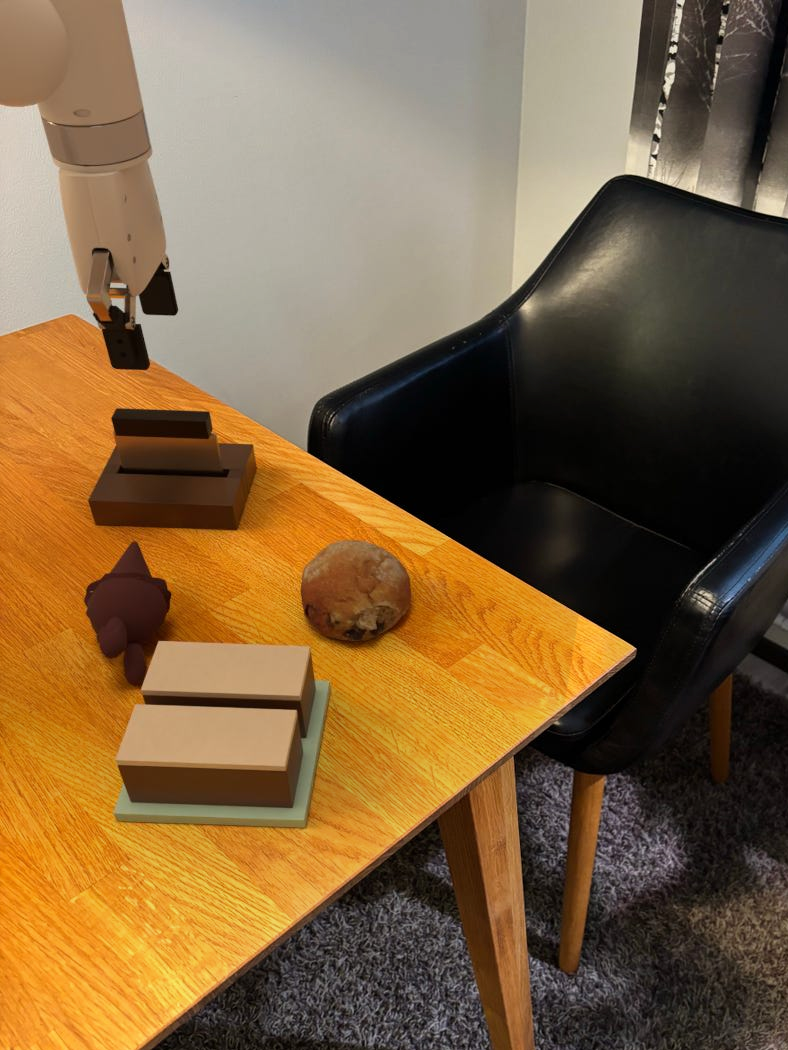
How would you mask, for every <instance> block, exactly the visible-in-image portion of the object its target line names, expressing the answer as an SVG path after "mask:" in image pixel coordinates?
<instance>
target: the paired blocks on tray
mask: <svg viewBox="0 0 788 1050" xmlns="http://www.w3.org/2000/svg"><path fill="white" fill-rule="evenodd" d="M154 649H155V650H154V652H153V654H152V657H151V660H150V663H149V665H148V669H147V670H146V673H145V676H144V679H143V683H142V685H141V688H140V693H141V695H142V698H143V702H144V704H142V703H140V704H139V703H135V704H134V707H133V710H132V713H131V715H130V718H129V721H128V723H127V727H126V728H125V731H124V734H123V736H122V737H123V738H122V740H121V743H120V745H119V748H118V751H117V754H116V756H115V764H116V765H117V769H118V772H119V775H120V777H121V779H122V782H123V784H122V786H121V790H120V793H119V795H118V799H117V801H116V804H115V807H114V809H113V813H112V814H113V816H114V819H115V821H116V822H130V823H131V822H132V823H134V822H135V823H156V824H157V823H158V824H159V823H160V824H188V825H213V826H239V827H240V826H241V827H242V826H243V827H269V828H271V827H272V828H295V829H296V828H297V829H303V828H304V829H306V827H307V823H308V816H309V811H310V805H311V799H312V794H313V789H314V783H315V777H316V772H317V767H318V761H319V757H320V756H319V755H320V750H321V745H322V739H323V734H324V729H325V722H326V717H327V711H328V707H329V701H330V695H331V690H332V688H331V681H330V680H317V679H316V678H315V673H314V664H313V657H312V650H311V646H310V645H305V646H304V645H286V644H285V645H284V644H283V645H282V644H258V643H257V644H256V643H255V644H254V643H231V642H229V643H228V642H227V643H225V642H203V641H201V642H198V641H173V640H158V641H157V644H156V646H155V648H154ZM315 679H316V680H315Z"/></svg>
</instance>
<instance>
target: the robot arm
mask: <svg viewBox="0 0 788 1050" xmlns="http://www.w3.org/2000/svg"><path fill="white" fill-rule="evenodd" d="M34 105H37V108H38V112H39V115H40V119H41V122H42V127H43V131H44V133H45V138H46V141H47V144H48V145H47V146H48V148H49V152H50V155H51V160H52V162H53V164H54V165H55V166H56V167H58V168H59V170H58V183H59V190H60V198H61V205H62V211H63V216H64V221H65V227H66V233H67V237H68V241H69V245H70V250H71V254H72V258H73V259H72V260H73V263H74V268H75V270H76V275H77V280H78V283H79V287H80V290H81V292H82V293H83V294H84V295H85V296H86V302H87V304H88V305H89V307H90V309H91V310H92V316H93V317H94V319H95V321H96V322H97V326H98V328H99V330H101V334H102V337H103V340H104V344H105V348H106V352H107V355H108V358H109V363H110V366H111V367H112V368H113V369H115V370H124V371H125V370H126V371H127V370H128V371H147V370H149V368H150V366H151V361H150V358H149V354H148V349H147V343H146V341H145V336H144V333H143V327H142V324H141V323H136V322H137V311H136V309H137V297H138V299H139V302H140V307H141V311H142V313H143V314H144V315H145V316H146V315H147V316H169V317H171V316H173V317H175V316H177V314H178V312H179V306H178V302H177V297H176V292H175V287H174V283H173V277H172V273H171V272H172V271H169V270H170V259H169V256H168V255H167V253H166V250H167V240H166V231H165V227H164V221H163V216H162V211H161V206H160V202H159V198H158V195H157V191H156V185H155V182H154V179H153V175H152V172H151V168H150V164H149V159H151V156H152V155H153V146H152V143H151V137H150V133H149V128H148V123H147V119H146V113H145V108H144V104H143V98H142V93H141V88H140V83H139V79H138V74H137V69H136V64H135V59H134V54H133V49H132V45H131V39H130V34H129V30H128V25H127V19H126V14H125V10H124V5H123V1H122V0H0V106H5V107H10V108H24V107H30V106H34ZM111 284H123V285H125V287H111ZM112 299H123V301H124V303H123V307H124V308H123V310H122V309H121V308H120V307H118V305H113V304H112V302H113V301H112Z"/></svg>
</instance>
